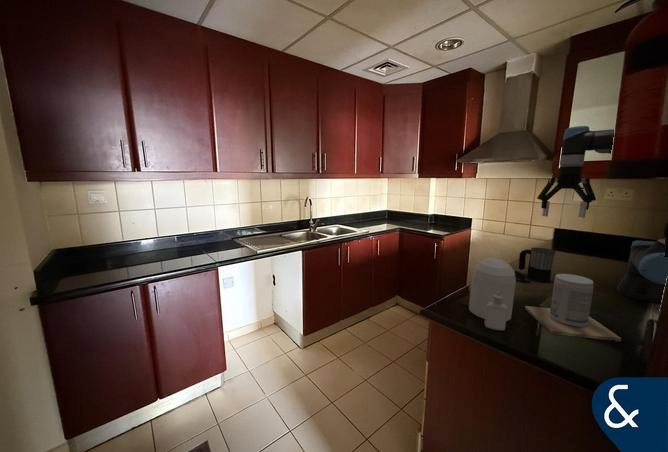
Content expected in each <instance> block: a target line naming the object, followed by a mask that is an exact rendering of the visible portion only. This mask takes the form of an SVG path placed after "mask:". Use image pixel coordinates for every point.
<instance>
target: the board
mask: <svg viewBox="0 0 668 452" xmlns="http://www.w3.org/2000/svg"><path fill="white" fill-rule="evenodd" d="M524 309H525V310H526V311H527V312H528V313H529V314H530V315H531V316H532V317H533V318H534V319H536V320H537V322H538V323H539V324H540V325H541V326H542V327H544V329H545V330H547V332H548V333H550V334H551V335H560V336H569V337H577V338H586V339H587V338H588V339H594V340H604V341H612V340H614V342H621V341H622V337H620V336H618V335H617V334H616V333H615V332H613V331H612V330H610V329H608V328H607V327H605V326H604V325H603V324H602V323H600V322H598V321H597V320H595V319H594V318H592V317H591V316H590V315H589V319H588V324H587V325H586V326H582V327H576V326H571V325H566V324H563V323H560V322H558V321H556V320H555V319H553V318H552V317H551V315H550V310H551V307H539V306H530V305H529V306H528V305H525V306H524Z"/></svg>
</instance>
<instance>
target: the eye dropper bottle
mask: <svg viewBox="0 0 668 452" xmlns="http://www.w3.org/2000/svg"><path fill="white" fill-rule="evenodd" d="M502 299H503V297H502V296H500V292H497V294H496V295H494V298H493V302H489V303H487V306H486V314H485V319H484V326H485V328H488V329H491V330H494V331H505V330H506V325H507V321H506V318H507V307H506V305H504V304H502Z"/></svg>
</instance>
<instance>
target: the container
mask: <svg viewBox="0 0 668 452" xmlns="http://www.w3.org/2000/svg"><path fill="white" fill-rule="evenodd" d="M514 271H515V270H514V269H513V267H512V265H510V264H509V263H507V262H506V261H505V260H503V259H500V258H496V257H487V258H485V259H482V260H480V261H478V262H477V263H475V265H474V267H473V271H472V274H471V283H470V293H469V303H468V310H469V311H470V313H472V314H473V315H475V316H477V317H478V318H481V319H484V320H485V314H486V306H487V303H489V302H493V298H494V295H496V294H497V292H500V296H502V297H503V299H502V304H504V305H506V307H507V318H506V322H508V321H510V320H511V319H512V313H513V307H514V300H515V299H514V298H515V291H516V282H517V279H516V276H515V272H514Z"/></svg>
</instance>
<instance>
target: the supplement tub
mask: <svg viewBox="0 0 668 452" xmlns="http://www.w3.org/2000/svg"><path fill="white" fill-rule="evenodd" d="M593 293H594V281H593V280H592V279H590V278H588V277H585V276H581V275H576V274H570V273H557V274H556V275H555V278H554V282H553V289H552V295H551V304H550V308H551V310H550V315H551V317H552V318H553V319H555V320H556V321H558V322H560V323H563V324H566V325H571V326H576V327H582V326H586V325H587V324H588V319H589V316H590V312H591V306H592V300H593Z"/></svg>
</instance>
